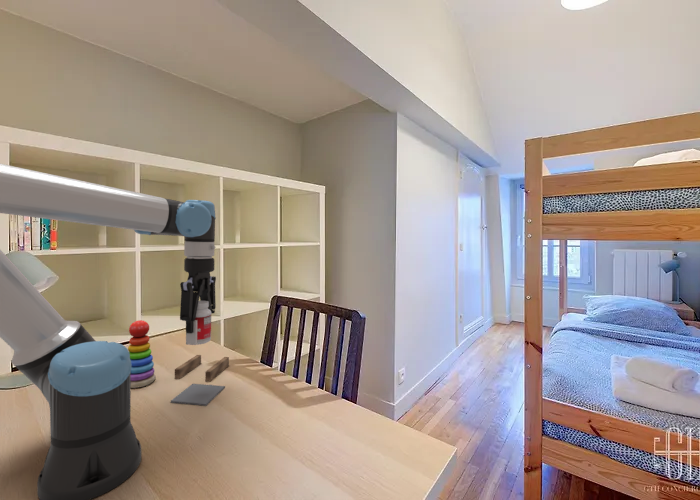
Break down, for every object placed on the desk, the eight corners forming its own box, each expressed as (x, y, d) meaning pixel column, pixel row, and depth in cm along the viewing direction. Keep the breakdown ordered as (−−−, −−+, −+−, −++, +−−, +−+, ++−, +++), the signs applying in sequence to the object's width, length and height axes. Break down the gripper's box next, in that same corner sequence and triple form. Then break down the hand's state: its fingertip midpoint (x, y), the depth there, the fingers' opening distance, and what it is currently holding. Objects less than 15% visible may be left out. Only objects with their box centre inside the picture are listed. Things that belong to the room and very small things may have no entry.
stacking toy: (161, 377, 100) (161, 318, 99) (142, 390, 92) (142, 325, 91) (138, 375, 100) (137, 316, 99) (117, 388, 92) (116, 323, 92)
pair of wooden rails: (210, 381, 98) (210, 371, 98) (174, 378, 99) (174, 369, 99) (228, 365, 110) (228, 357, 110) (197, 363, 111) (197, 354, 111)
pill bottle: (181, 343, 87) (181, 303, 87) (198, 336, 93) (199, 299, 93) (199, 346, 85) (199, 305, 85) (215, 339, 91) (216, 301, 91)
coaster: (206, 405, 84) (206, 403, 84) (170, 402, 85) (170, 400, 85) (224, 387, 94) (224, 386, 94) (192, 385, 95) (192, 383, 95)
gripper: (192, 260, 78) (191, 353, 79) (229, 255, 97) (227, 330, 98) (163, 259, 79) (162, 351, 80) (205, 254, 98) (204, 329, 99)
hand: (198, 340), depth 89 cm, fingers closed on pill bottle, 6 cm apart
